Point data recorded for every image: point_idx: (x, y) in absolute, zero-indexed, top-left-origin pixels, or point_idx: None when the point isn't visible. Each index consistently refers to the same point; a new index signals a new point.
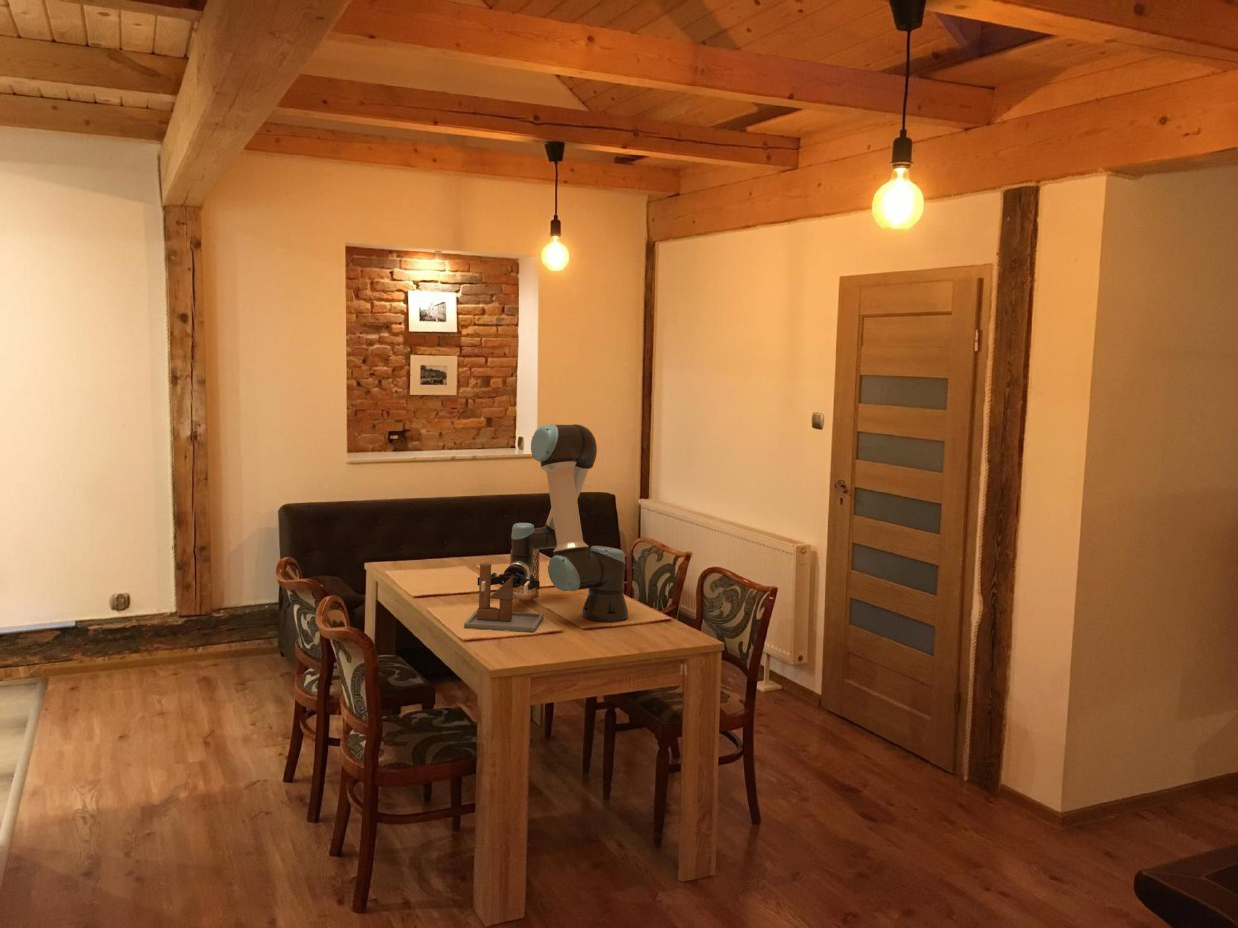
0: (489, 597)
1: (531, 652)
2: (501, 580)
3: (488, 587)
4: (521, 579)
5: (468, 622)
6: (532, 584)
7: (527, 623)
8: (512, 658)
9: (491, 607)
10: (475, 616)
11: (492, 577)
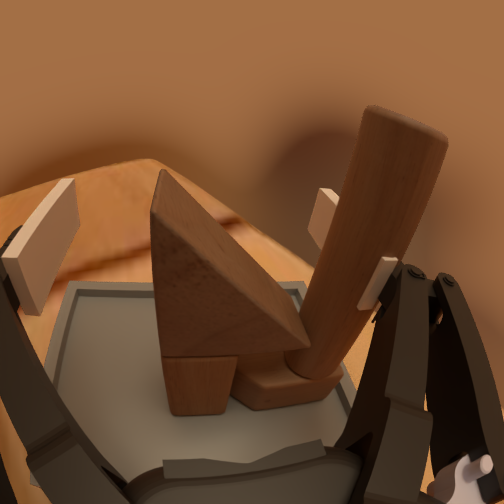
0: (289, 295)
1: (95, 194)
2: (354, 429)
3: (319, 258)
4: (67, 417)
5: (299, 294)
6: (2, 247)
7: (91, 365)
8: (128, 176)
9: (282, 373)
10: (337, 386)
11: (406, 320)
